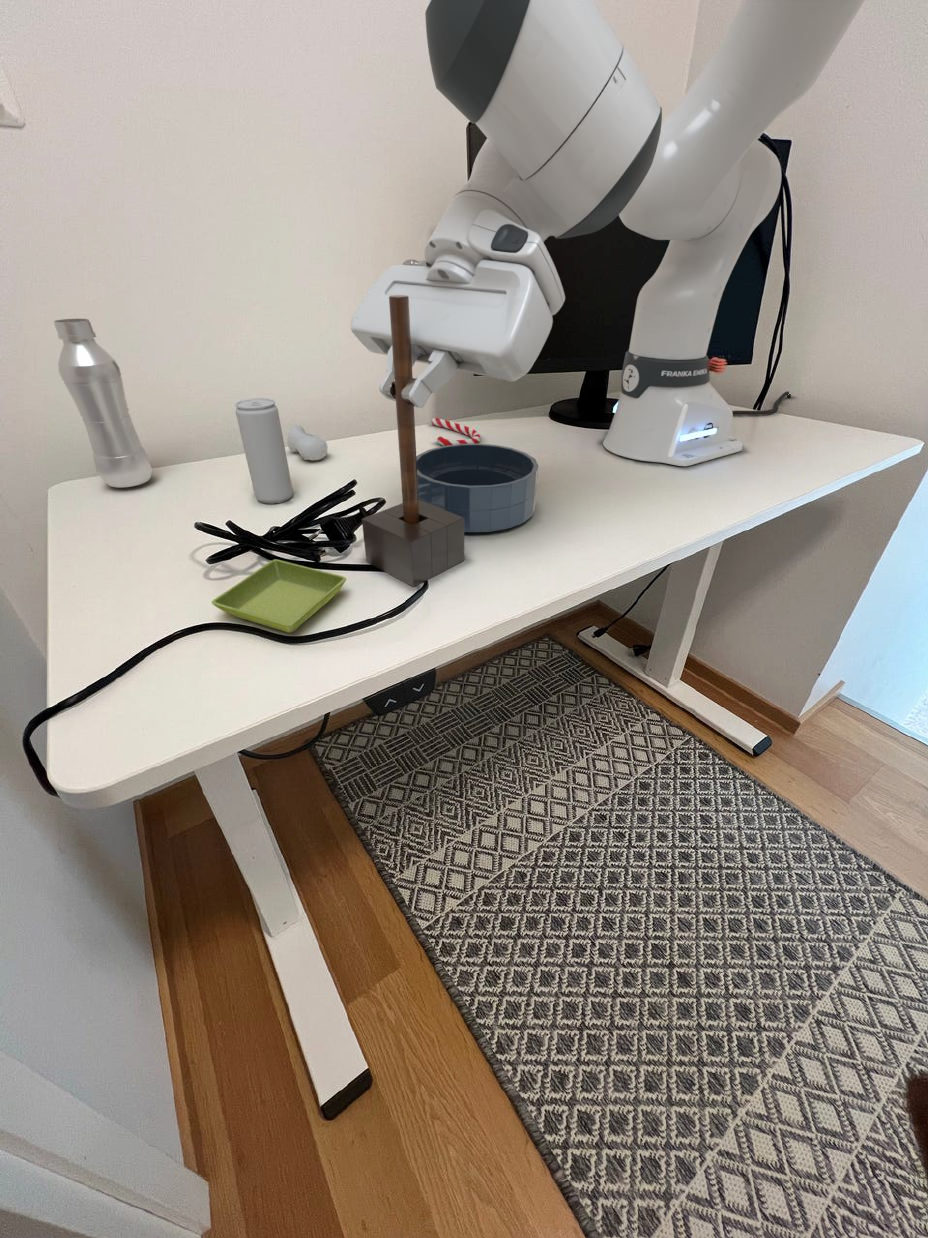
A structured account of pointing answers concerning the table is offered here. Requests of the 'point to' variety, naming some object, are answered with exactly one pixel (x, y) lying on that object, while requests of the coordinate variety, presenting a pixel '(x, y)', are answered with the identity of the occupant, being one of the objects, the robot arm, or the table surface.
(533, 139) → the robot arm
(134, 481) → the plastic bottle
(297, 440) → the smooth white sculpture
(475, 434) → the candy cane
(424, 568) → the holder
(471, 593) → the table surface
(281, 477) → the beverage can
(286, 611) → the saucer
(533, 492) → the bowl
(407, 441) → the stick
